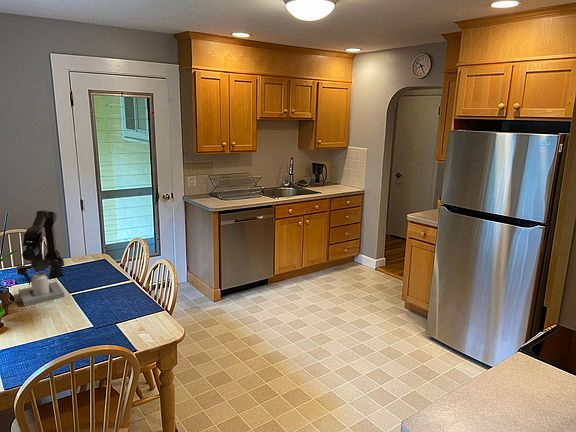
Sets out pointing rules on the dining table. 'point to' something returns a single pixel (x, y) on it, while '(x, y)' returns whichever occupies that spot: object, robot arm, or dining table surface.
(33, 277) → the can
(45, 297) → the pocket frame
